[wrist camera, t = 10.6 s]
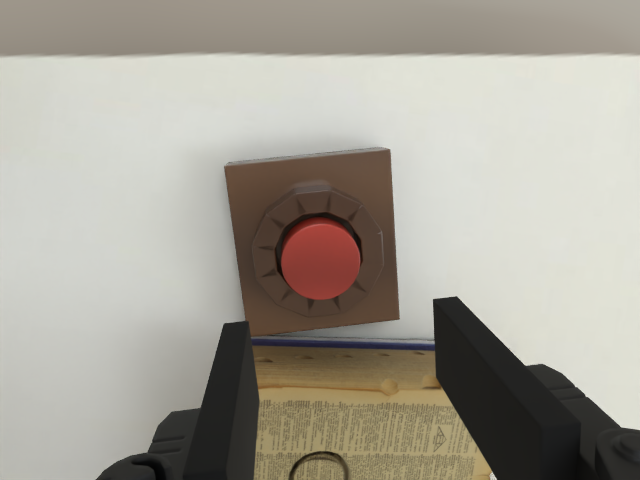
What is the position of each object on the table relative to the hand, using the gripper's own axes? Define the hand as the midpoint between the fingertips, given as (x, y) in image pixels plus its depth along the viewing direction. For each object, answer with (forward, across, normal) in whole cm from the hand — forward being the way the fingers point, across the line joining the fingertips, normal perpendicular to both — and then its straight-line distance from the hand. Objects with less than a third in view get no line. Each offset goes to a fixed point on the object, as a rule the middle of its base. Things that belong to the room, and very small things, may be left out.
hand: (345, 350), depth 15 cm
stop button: (+11, 0, 0) cm, 11 cm away
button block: (+15, 0, 0) cm, 15 cm away
